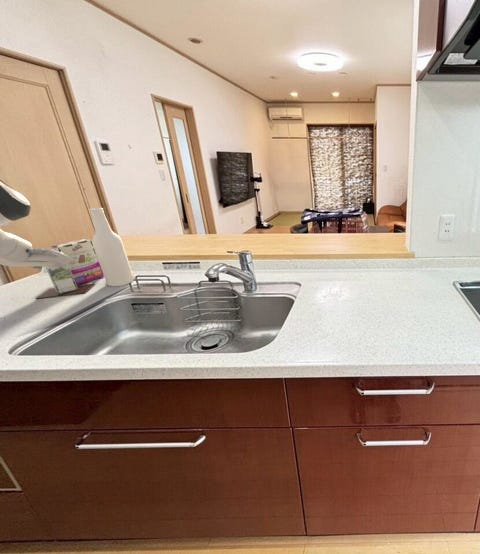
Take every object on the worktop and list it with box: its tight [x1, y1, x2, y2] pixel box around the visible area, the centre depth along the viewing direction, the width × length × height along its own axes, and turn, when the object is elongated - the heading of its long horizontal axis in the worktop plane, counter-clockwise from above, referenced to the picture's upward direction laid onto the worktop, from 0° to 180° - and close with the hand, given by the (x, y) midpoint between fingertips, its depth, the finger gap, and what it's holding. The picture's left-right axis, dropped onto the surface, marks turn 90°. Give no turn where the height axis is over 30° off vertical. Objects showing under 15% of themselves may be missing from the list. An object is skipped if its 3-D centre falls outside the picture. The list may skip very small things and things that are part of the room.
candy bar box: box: [50, 238, 105, 285], centre depth 119 cm, size 11×5×16 cm, turn 163°
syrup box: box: [44, 252, 78, 294], centre depth 110 cm, size 6×6×14 cm
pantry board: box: [35, 282, 96, 300], centre depth 112 cm, size 14×9×1 cm, turn 112°
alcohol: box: [88, 207, 135, 287], centre depth 115 cm, size 9×9×30 cm
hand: (53, 267), depth 107 cm, fingers open, 8 cm apart
